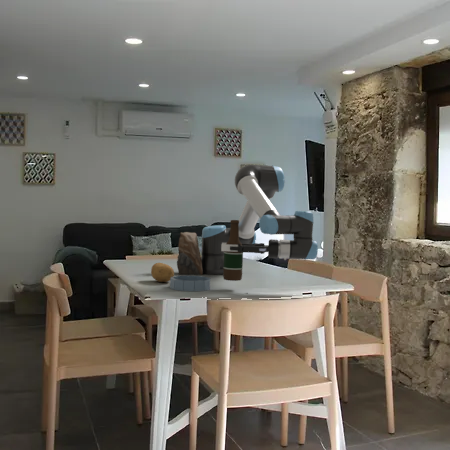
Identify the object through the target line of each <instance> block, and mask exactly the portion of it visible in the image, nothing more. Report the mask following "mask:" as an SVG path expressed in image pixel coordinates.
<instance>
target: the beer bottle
mask: <svg viewBox="0 0 450 450" xmlns="http://www.w3.org/2000/svg"><path fill="white" fill-rule="evenodd" d="M238 220H239V219H237V220H236V219H231V220H230V221H229V223H230V227H229V228H230V237H229V241H228V242H227V243H226V244H229V245H238V244H240V245H242V244H241V242H240V241H239V221H238ZM243 259H244V252H242V253H240V252H230V251H224V270H223V274H222V275H223V280H224V281H230V282H231V281H232V282H235V281H242V278H243V263H244V260H243Z"/></svg>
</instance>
